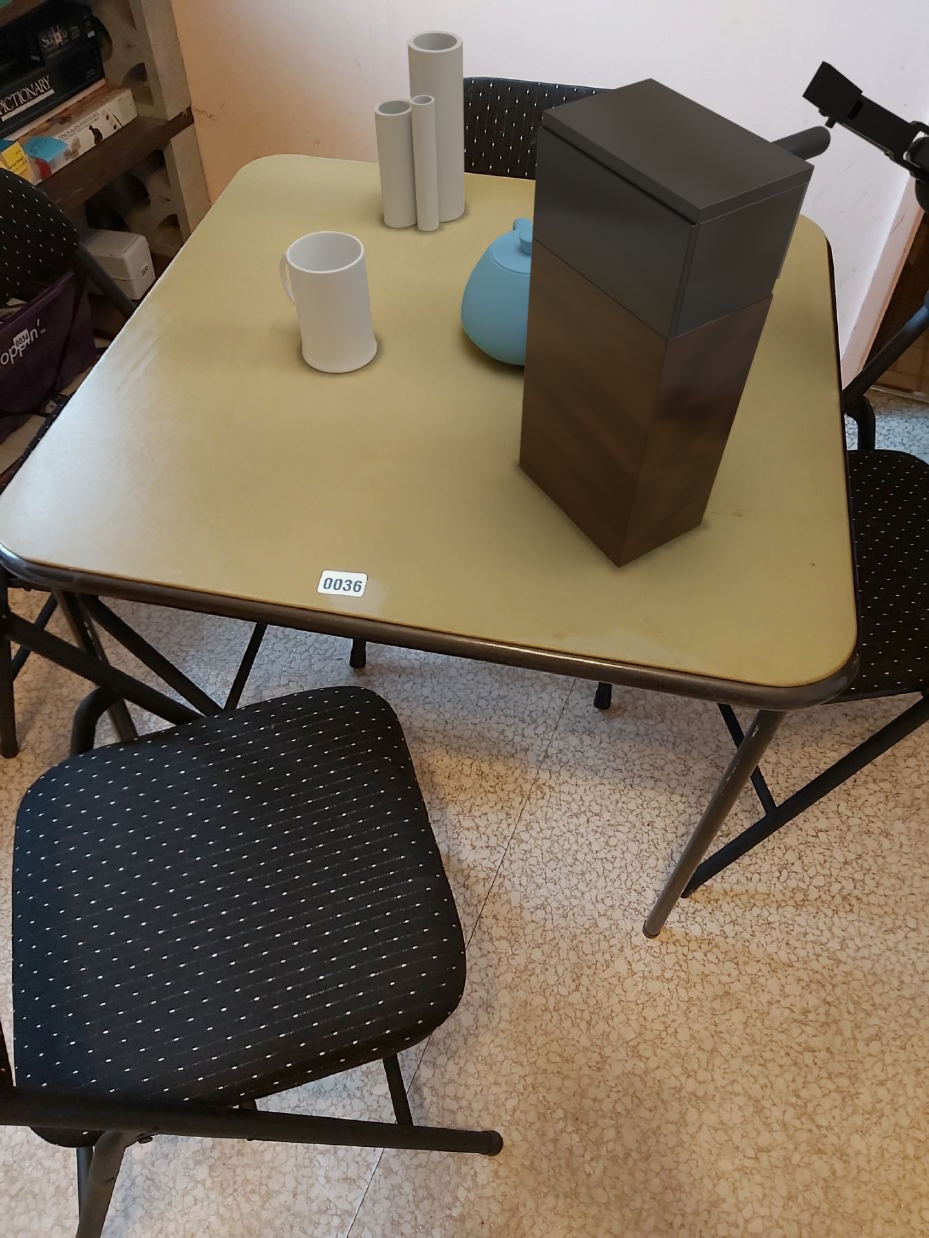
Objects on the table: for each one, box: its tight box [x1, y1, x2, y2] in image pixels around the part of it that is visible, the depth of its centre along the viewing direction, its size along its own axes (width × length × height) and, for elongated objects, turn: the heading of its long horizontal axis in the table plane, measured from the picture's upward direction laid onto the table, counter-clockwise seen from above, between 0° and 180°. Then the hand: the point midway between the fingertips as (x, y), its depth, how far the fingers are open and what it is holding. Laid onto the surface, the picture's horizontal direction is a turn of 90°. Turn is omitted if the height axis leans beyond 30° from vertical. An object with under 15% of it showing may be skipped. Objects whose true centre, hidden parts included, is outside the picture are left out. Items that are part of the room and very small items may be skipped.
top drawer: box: [770, 125, 832, 280], centre depth 61 cm, size 20×14×7 cm
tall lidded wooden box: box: [518, 77, 816, 568], centre depth 69 cm, size 10×16×33 cm, turn 32°
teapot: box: [460, 217, 533, 366], centre depth 92 cm, size 20×20×13 cm
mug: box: [278, 230, 378, 374], centre depth 92 cm, size 12×8×12 cm
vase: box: [373, 30, 466, 232], centre depth 105 cm, size 11×7×20 cm, turn 126°
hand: (881, 111), depth 65 cm, fingers open, 13 cm apart
